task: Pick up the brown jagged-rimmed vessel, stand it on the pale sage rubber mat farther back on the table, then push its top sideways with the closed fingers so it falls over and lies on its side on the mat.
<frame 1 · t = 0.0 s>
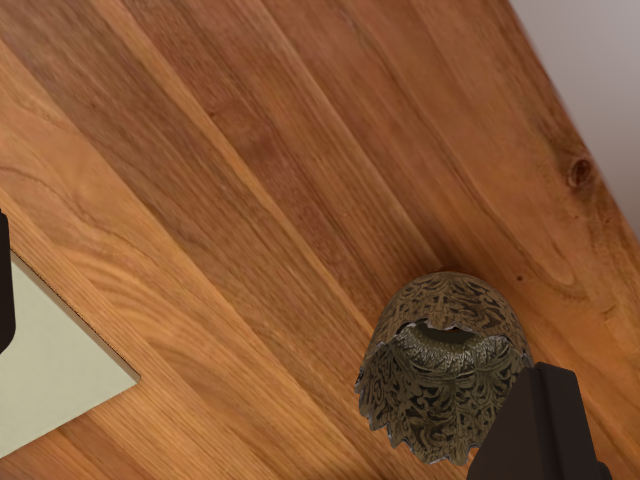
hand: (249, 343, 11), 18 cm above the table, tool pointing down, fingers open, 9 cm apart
brown jagged-rimmed vessel: (448, 289, 31), on the table
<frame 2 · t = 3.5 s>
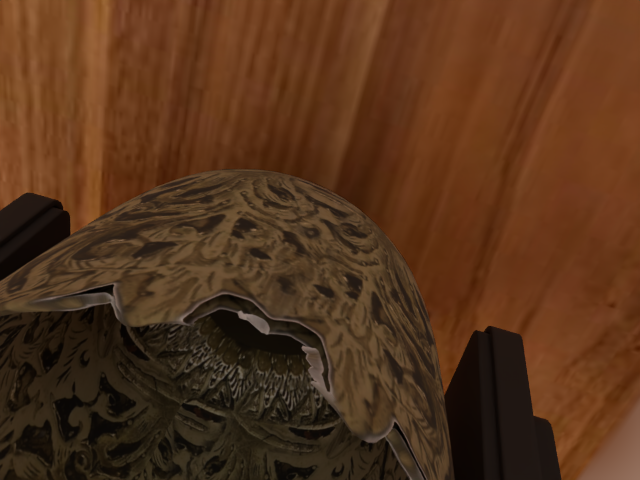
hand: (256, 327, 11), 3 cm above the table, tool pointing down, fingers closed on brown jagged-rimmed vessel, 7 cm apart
brown jagged-rimmed vessel: (298, 235, 14), on the table, touching gripper
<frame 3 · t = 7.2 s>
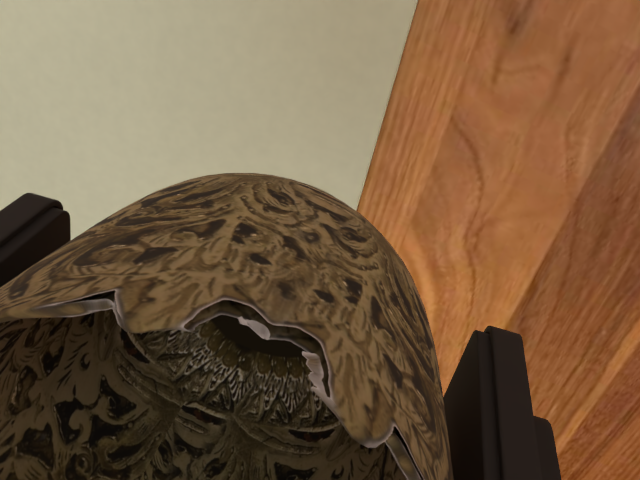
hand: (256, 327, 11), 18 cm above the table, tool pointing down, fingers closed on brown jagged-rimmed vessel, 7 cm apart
mat: (12, 65, 29), on the table
brown jagged-rimmed vessel: (298, 237, 14), point 14 cm above the table, touching gripper
when the fingers open (4 cm above the table, at t = 11.3 s): brown jagged-rimmed vessel stays where it is, resting on mat.
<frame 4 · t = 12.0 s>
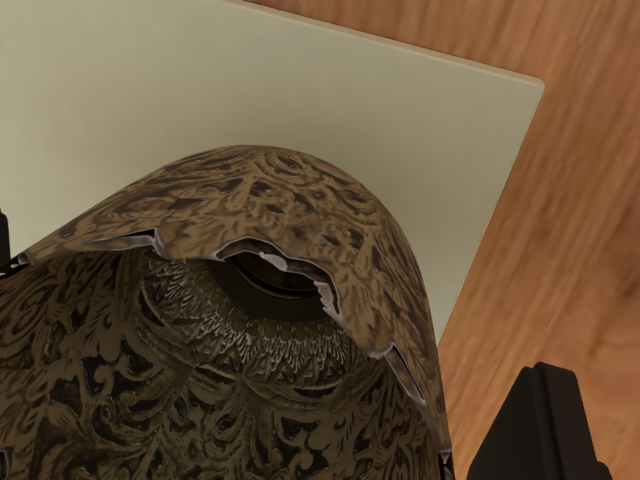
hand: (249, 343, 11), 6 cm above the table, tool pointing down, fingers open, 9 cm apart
brown jagged-rimmed vessel: (300, 212, 15), resting on mat
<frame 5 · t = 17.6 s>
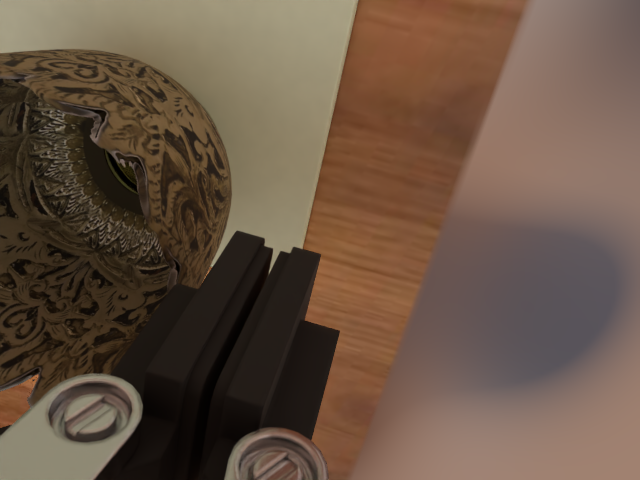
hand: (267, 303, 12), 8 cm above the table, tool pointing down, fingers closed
brown jagged-rimmed vessel: (176, 135, 19), point 1 cm above the table, touching gripper, mat
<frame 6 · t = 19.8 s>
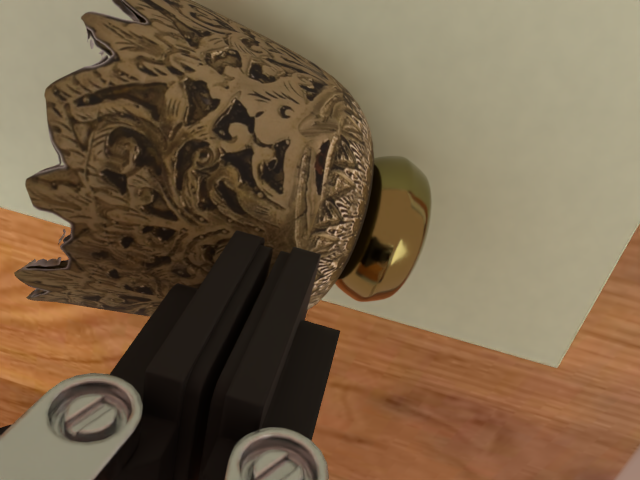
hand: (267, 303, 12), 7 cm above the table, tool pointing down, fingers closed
brown jagged-rimmed vessel: (416, 240, 15), point 3 cm above the table, touching gripper, mat
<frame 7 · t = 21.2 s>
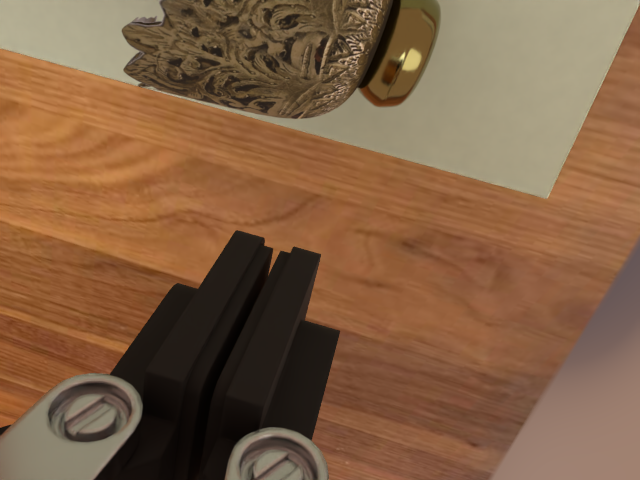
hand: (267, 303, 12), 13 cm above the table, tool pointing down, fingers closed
brown jagged-rimmed vessel: (428, 60, 19), point 3 cm above the table, touching mat
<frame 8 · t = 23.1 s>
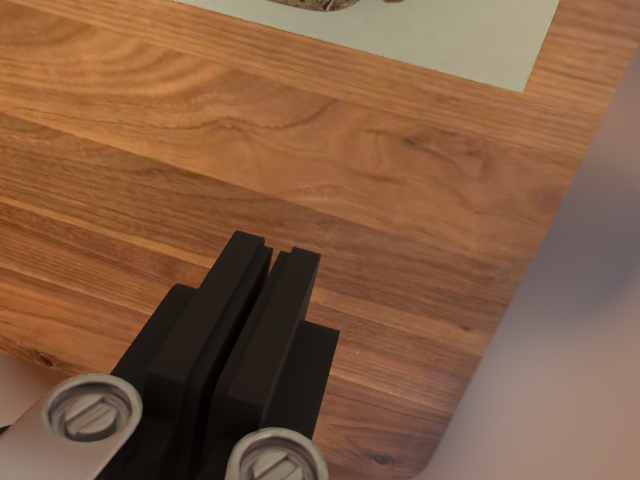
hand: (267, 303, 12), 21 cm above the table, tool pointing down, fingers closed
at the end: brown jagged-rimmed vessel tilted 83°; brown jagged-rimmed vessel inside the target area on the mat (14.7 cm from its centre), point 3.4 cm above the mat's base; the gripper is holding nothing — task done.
